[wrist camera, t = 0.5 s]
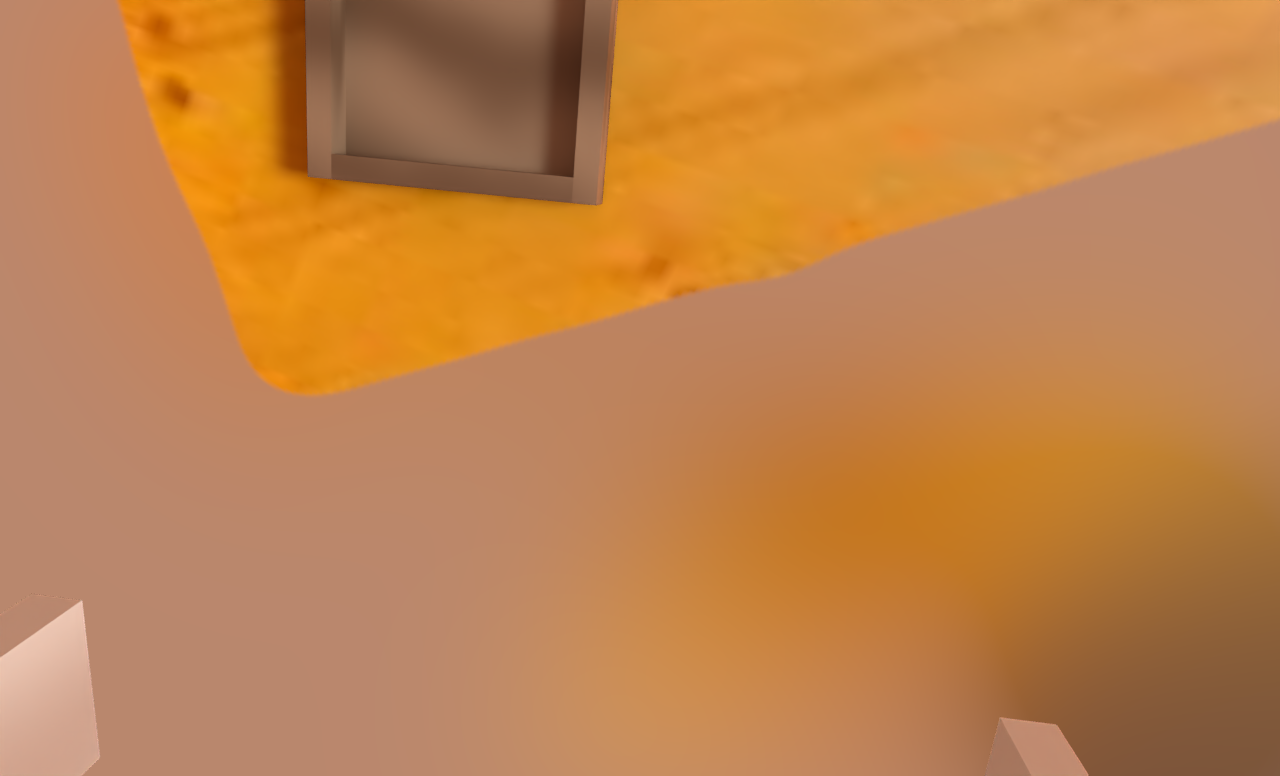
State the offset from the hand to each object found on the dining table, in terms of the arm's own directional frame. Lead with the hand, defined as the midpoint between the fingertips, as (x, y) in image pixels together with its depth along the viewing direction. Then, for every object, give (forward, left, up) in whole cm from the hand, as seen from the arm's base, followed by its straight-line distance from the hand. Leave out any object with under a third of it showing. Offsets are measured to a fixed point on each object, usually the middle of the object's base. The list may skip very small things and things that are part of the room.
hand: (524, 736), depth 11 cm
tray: (-12, -8, -25) cm, 29 cm away
